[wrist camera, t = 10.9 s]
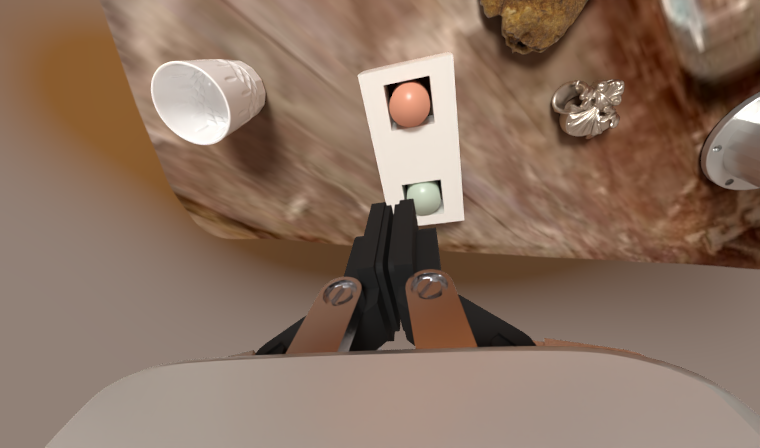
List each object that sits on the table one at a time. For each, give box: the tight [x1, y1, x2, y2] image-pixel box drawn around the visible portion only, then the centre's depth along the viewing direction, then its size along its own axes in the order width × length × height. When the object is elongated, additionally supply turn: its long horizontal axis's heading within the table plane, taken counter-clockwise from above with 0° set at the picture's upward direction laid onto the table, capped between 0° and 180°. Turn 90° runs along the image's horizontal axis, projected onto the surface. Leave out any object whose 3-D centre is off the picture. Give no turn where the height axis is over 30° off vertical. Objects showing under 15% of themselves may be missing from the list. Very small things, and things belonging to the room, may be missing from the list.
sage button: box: [407, 180, 441, 215], centre depth 41 cm, size 4×4×4 cm
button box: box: [358, 52, 464, 226], centre depth 38 cm, size 10×20×4 cm, turn 12°
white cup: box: [151, 59, 266, 145], centre depth 34 cm, size 8×8×10 cm
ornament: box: [552, 79, 624, 139], centre depth 34 cm, size 8×7×4 cm
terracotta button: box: [389, 79, 430, 127], centre depth 34 cm, size 4×4×4 cm
